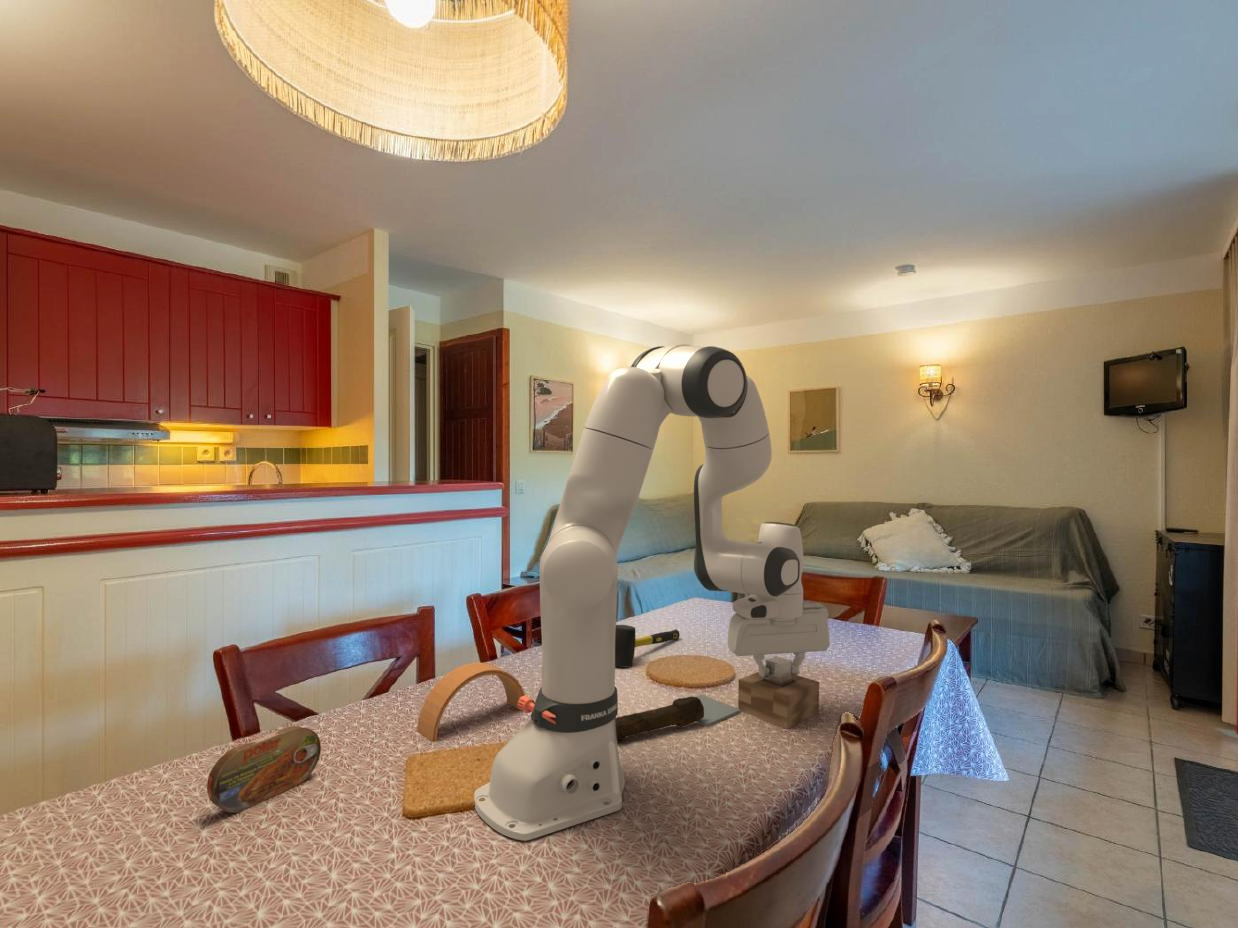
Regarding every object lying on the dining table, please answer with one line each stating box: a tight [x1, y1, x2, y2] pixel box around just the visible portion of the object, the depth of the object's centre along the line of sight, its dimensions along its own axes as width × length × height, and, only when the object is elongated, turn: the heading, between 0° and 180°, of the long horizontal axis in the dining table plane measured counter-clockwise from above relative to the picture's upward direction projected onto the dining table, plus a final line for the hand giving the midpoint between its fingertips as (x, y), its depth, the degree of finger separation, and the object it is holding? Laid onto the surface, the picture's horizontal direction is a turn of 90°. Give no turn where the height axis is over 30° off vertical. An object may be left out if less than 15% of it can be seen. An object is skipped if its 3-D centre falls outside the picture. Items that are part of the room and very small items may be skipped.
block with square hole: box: [737, 671, 820, 730], centre depth 117 cm, size 11×11×6 cm
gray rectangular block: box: [765, 655, 793, 687], centre depth 117 cm, size 4×4×8 cm
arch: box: [416, 662, 526, 743], centre depth 112 cm, size 6×20×10 cm, turn 134°
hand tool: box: [615, 696, 704, 742], centre depth 108 cm, size 19×4×5 cm, turn 112°
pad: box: [695, 694, 742, 728], centre depth 117 cm, size 10×10×1 cm
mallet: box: [615, 624, 680, 668], centre depth 153 cm, size 29×6×10 cm, turn 145°
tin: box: [206, 725, 322, 814], centre depth 87 cm, size 15×3×8 cm, turn 148°
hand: (778, 674), depth 117 cm, fingers closed on gray rectangular block, 5 cm apart
